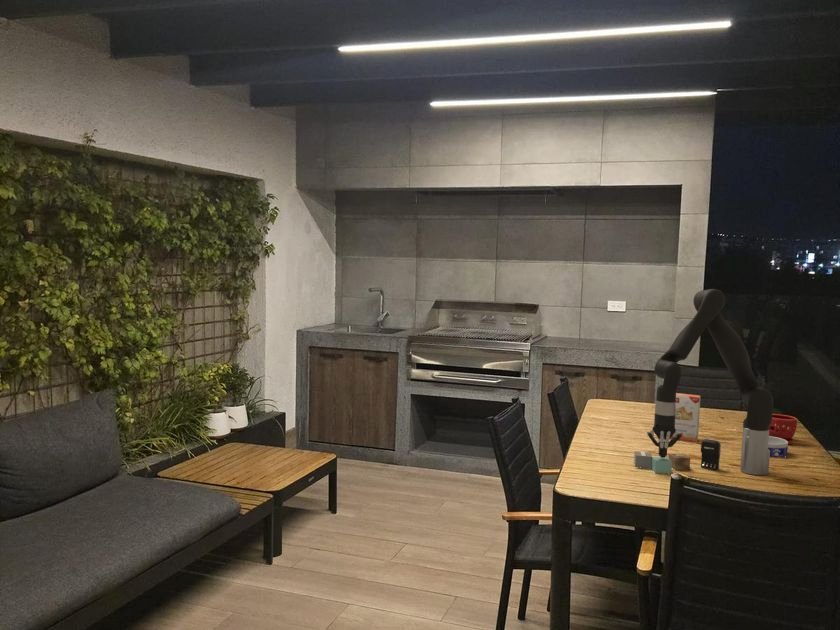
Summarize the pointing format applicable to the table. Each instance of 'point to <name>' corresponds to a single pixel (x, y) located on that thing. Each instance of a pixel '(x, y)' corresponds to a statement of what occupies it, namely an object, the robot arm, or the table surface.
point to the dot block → (680, 461)
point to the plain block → (661, 465)
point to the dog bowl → (777, 447)
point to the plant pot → (783, 431)
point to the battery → (710, 454)
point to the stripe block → (642, 459)
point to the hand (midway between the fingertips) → (662, 457)
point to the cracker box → (687, 416)
